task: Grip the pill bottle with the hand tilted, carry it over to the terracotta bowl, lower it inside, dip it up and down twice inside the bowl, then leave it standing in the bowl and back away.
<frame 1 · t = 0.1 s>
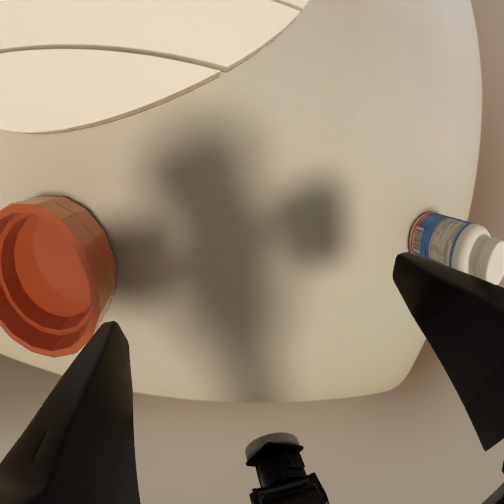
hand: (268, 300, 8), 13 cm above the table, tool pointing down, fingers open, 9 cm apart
pill bottle: (424, 236, 25), on the table
bowl: (57, 264, 19), on the table
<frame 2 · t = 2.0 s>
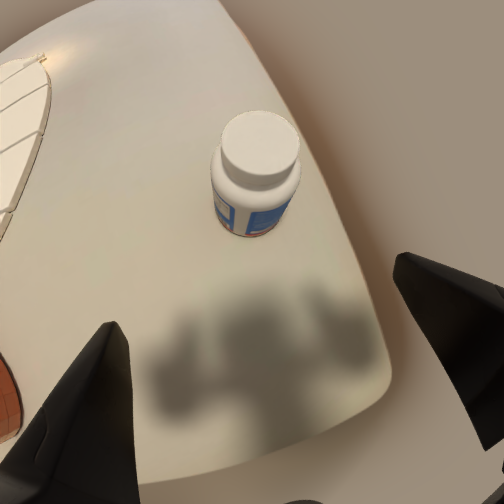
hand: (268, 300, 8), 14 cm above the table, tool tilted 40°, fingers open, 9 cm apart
pill bottle: (247, 206, 23), on the table
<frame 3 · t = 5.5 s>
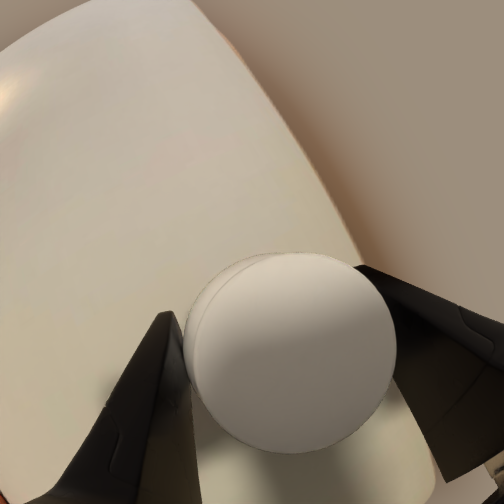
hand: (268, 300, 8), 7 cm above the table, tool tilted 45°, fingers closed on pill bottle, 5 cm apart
pill bottle: (257, 335, 14), on the table, touching gripper
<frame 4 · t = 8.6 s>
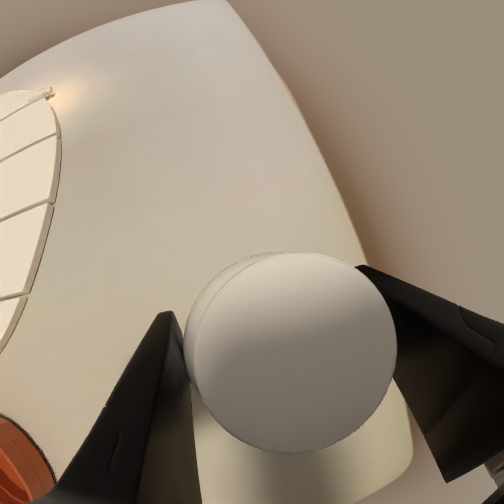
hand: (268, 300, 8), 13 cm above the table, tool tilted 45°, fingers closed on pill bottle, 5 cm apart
pill bottle: (257, 335, 14), point 6 cm above the table, touching gripper
bowl: (18, 460, 15), on the table
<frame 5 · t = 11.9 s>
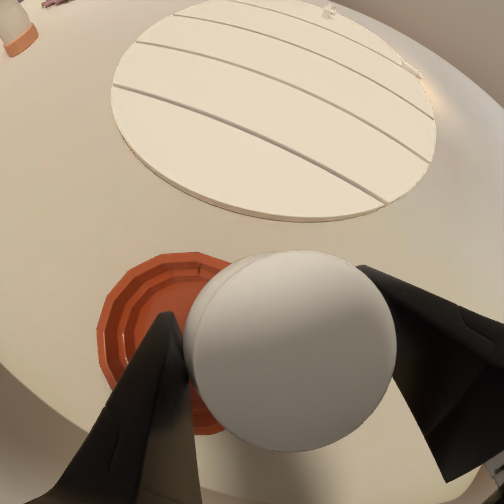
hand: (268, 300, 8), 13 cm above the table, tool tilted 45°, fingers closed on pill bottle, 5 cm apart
salt shaker: (24, 45, 28), on the table
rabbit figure: (61, 2, 32), on the table
pill bottle: (257, 334, 14), point 6 cm above the table, touching gripper
round slatted board: (285, 65, 28), on the table
bowl: (194, 341, 20), on the table
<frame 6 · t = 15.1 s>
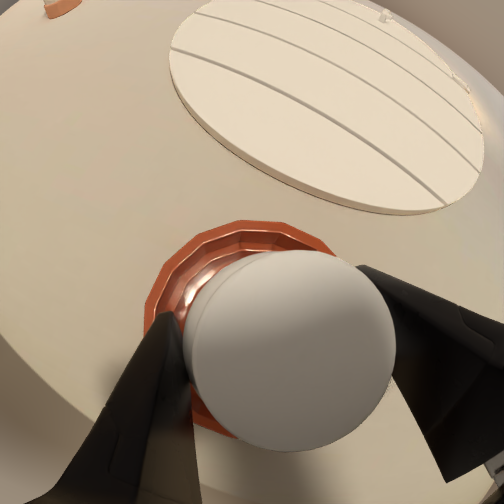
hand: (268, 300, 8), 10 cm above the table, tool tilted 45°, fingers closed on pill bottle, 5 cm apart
salt shaker: (65, 9, 27), on the table
pill bottle: (256, 334, 14), point 4 cm above the table, touching gripper
round slatted board: (348, 59, 26), on the table
bowl: (250, 329, 18), on the table
when the fingers open (7 cm above the table, at t = 18.1 s): pill bottle stays where it is, resting on bowl.
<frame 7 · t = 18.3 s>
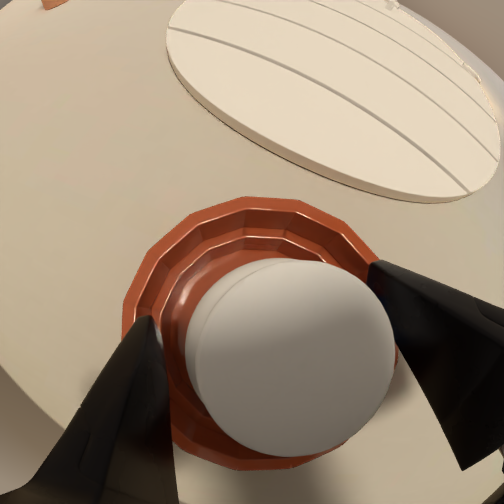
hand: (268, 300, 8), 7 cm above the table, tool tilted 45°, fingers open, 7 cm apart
salt shaker: (62, 0, 25), on the table
pill bottle: (257, 337, 14), resting on bowl
round slatted board: (357, 42, 23), on the table
bowl: (256, 334, 15), on the table
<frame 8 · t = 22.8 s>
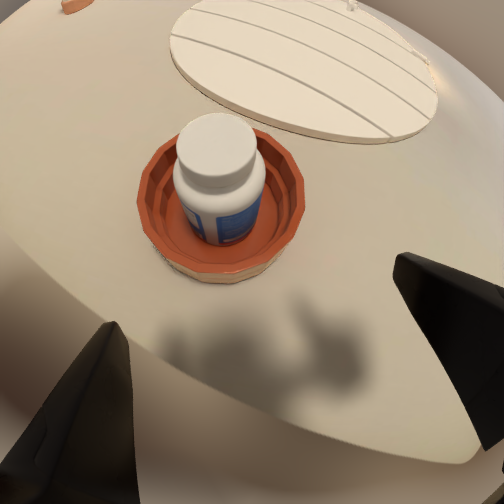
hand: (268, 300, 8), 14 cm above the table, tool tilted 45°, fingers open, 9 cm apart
salt shaker: (79, 6, 33), on the table
pill bottle: (222, 215, 23), resting on bowl
round slatted board: (313, 39, 31), on the table
bowl: (221, 215, 23), on the table
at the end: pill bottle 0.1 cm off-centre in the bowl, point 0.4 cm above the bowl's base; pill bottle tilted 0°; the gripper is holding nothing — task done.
